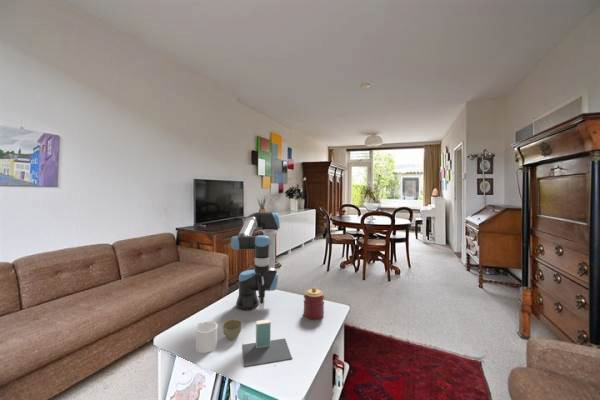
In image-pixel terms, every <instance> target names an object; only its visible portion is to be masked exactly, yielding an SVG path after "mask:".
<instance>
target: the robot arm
mask: <svg viewBox="0 0 600 400" xmlns="http://www.w3.org/2000/svg"><path fill="white" fill-rule="evenodd" d="M280 227H281V225H280V216H279V214H278V212H271V211H270V212H268V211H267V212H262V211H261V212H253V213H252V214H249V215H248V216H246V217H245V219H244V221H243V226H242V227H241V229H240V231H239V233H238V235H235V236H232V237H231V239H230V248H231V249H232V250H254V258H253V261H254V269H247V270H244V271H242V272H240V274H239V275H238V276H239V277H238V297H237V299H236V303H235V308H236V309H238V310H240V311H251V310H255V309H257V308H258V309H259V310H263V309H265V297H266V296H265V295H266V291H268V292H270V291H273V292H274V291H276V290H277V287H278V282H279V275H280V273H279V272H277V271H278V270H277V269H276V266H275V265H276V235H277V233H278V232H279V229H280ZM255 229H261V232H263V235H261V234H260V235H256V236H255V235H254V236H253V233H254V230H255ZM257 291H258V292H257ZM257 293H258V295H257Z"/></svg>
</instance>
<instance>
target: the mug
mask: <svg viewBox="0 0 600 400" xmlns="http://www.w3.org/2000/svg"><path fill="white" fill-rule="evenodd" d="M195 327H196V328H195V350H196V352H197V353H198V354H209V353H211V352H213V351H215V349H217V347H218V323H216V322H215V321H205V322H200V323H198V324H197V326H195Z"/></svg>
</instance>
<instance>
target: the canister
mask: <svg viewBox="0 0 600 400" xmlns="http://www.w3.org/2000/svg"><path fill="white" fill-rule="evenodd" d="M304 293H305V294H304V295H303V299H304V300H303V316H304V317H305V318H306V319H309V320H313V321H314V320H316V321H317V320H319V319H322V318H323V317H324V314H325V311H324V310H325V306H324V304H325V301H324V299H325V296H324V294H323V293H324V292H323V291H322V290H320V289H319V288H316V287H314V286H313V287H312V288H308V289H307V290H305V292H304Z"/></svg>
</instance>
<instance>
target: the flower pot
mask: <svg viewBox="0 0 600 400" xmlns="http://www.w3.org/2000/svg"><path fill="white" fill-rule="evenodd" d="M221 326H222V331H223V334H224V336H225V338H226V339H227V340H228V341H234V340H237V338H238V337H239V335H240V333H241V330H242V327H243V323H242V321H241V320H239V319H230V320H227V321H225V322H223V324H222V325H221Z"/></svg>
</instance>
